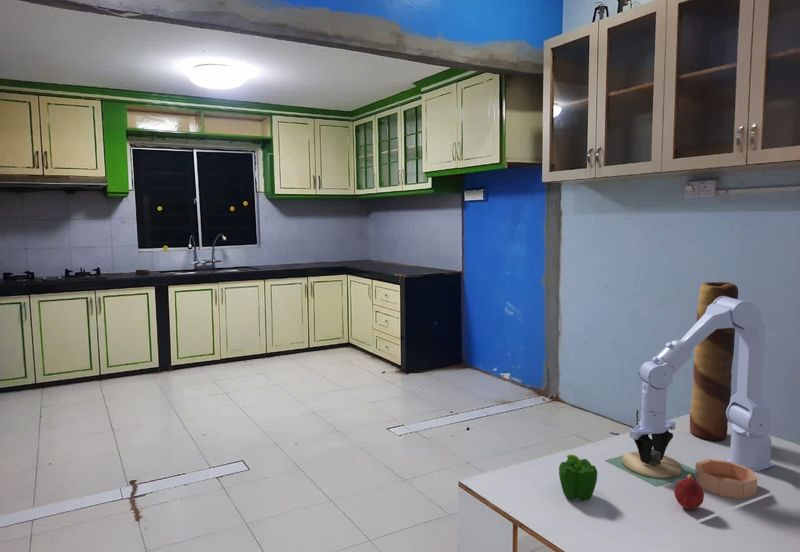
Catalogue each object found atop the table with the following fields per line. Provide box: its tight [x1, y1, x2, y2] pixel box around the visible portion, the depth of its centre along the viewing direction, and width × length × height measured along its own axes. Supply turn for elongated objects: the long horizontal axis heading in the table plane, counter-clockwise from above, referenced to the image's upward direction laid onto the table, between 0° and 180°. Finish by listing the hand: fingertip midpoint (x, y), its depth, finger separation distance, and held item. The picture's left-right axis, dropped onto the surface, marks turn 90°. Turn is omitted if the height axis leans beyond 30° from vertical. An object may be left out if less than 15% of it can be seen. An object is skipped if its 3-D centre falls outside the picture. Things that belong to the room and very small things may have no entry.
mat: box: [604, 450, 695, 488], centre depth 145 cm, size 16×16×1 cm
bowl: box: [694, 458, 758, 499], centre depth 134 cm, size 12×12×4 cm
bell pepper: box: [558, 454, 598, 502], centre depth 130 cm, size 8×8×10 cm
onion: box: [673, 474, 705, 511], centre depth 124 cm, size 6×6×8 cm
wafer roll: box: [689, 281, 739, 441], centre depth 163 cm, size 10×11×45 cm
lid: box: [622, 448, 682, 479], centre depth 144 cm, size 14×14×4 cm
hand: (651, 460), depth 144 cm, fingers open, 4 cm apart
